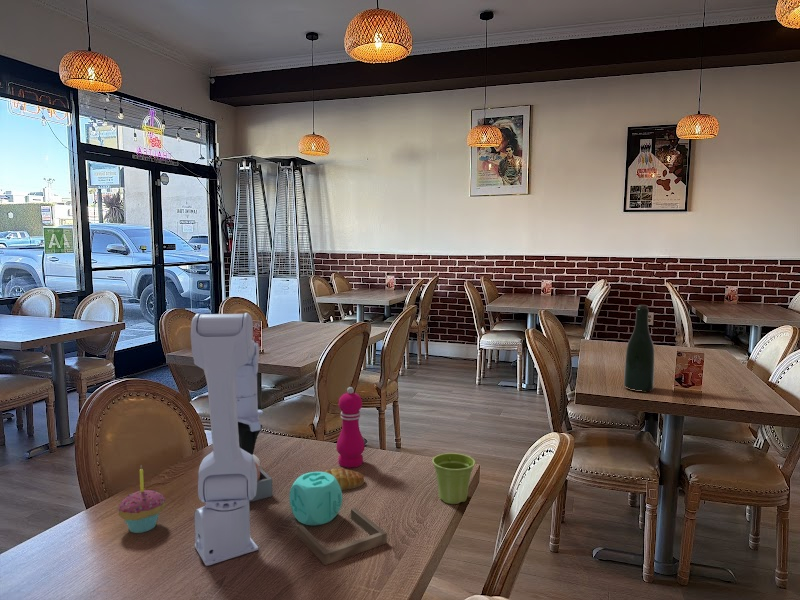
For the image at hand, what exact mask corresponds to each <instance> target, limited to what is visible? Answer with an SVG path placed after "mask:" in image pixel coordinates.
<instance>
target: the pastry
mask: <svg viewBox="0 0 800 600" xmlns="http://www.w3.org/2000/svg"><path fill="white" fill-rule="evenodd" d="M324 472H326V473H329V474H331V475H333V476H334V477H335V478H336V480H337V481H338V483H339V485H340V488H341V491H346V490H351V489H355V488H358V487H360V486H363V485H364V484H365V479H364V477H365V476H364V474H363V473H360V472H359V471H354V470H352V469H351V470H350V469H349V468H346V469H344V468H343V467H339V468H332V469H325V471H324Z"/></svg>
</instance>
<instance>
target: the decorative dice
mask: <svg viewBox="0 0 800 600" xmlns="http://www.w3.org/2000/svg"><path fill="white" fill-rule="evenodd" d="M342 503H343V493H342V490H341V488H340V485H339V483H338V481H337V480H336V478H335V477H334V476H333V475H331V474H329V473H326V472H325V471H311V472H307V473H303V474H301V475H300V476H298V477H297V478H296V480H294V482H293V484H292V486H291V487H290V490H289V505H290V509H291V511H292V514H293V515H294V518H295V519H296V520H297V521H298V522H299V523H301V524H302V525H305V526H321V525H325V524H327V523H329V522H331V521H332V520H333V519H334V518H335V517H337V515H338V514H339V512H340V510H341V507H342Z"/></svg>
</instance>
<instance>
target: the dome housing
mask: <svg viewBox="0 0 800 600" xmlns="http://www.w3.org/2000/svg"><path fill="white" fill-rule="evenodd" d="M259 468H260V480H259V481H257V491H256V496H255V497H254V498H253V499H252V500H249V503H252V502H255V501H259V500H262V499H266V498H270V497H273V478H272V477H271V476H270V475H269V474H268V473H266V472H265V470H263V468H261V466H259Z"/></svg>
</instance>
